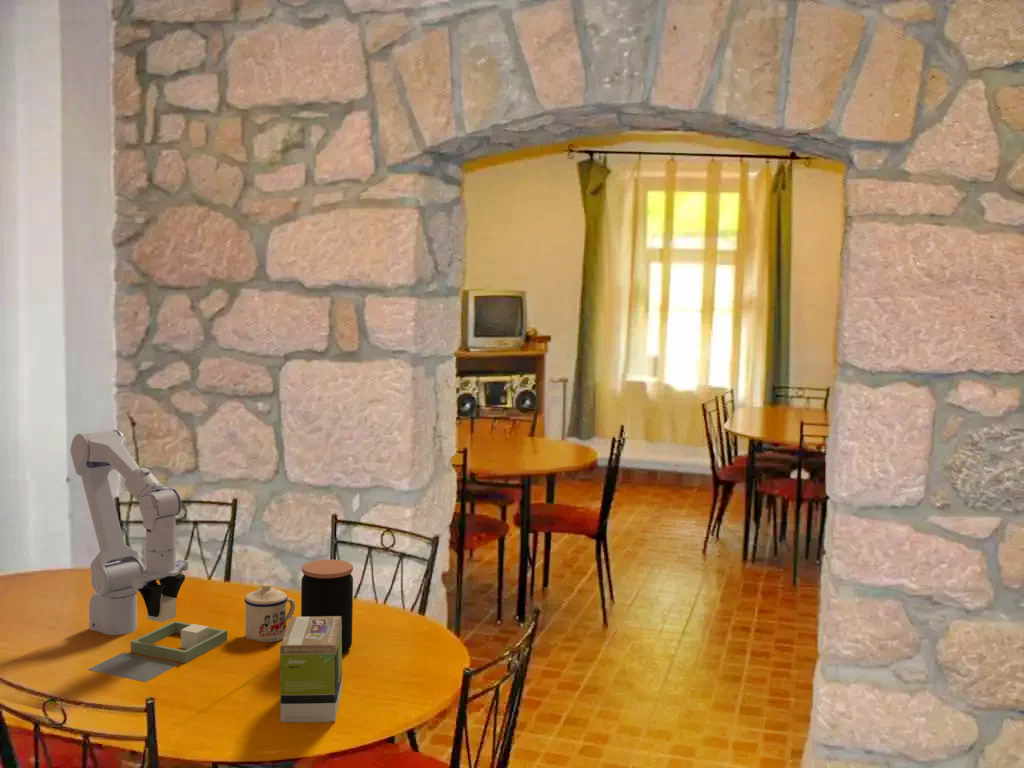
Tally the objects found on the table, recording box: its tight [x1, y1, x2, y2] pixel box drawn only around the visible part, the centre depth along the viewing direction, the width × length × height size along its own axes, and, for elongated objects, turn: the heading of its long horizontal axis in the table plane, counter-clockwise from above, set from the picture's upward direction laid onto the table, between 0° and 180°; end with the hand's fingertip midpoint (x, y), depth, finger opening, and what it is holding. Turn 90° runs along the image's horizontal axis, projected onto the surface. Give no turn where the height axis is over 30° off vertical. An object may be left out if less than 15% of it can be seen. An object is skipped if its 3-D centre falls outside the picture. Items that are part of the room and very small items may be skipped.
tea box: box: [279, 615, 343, 723], centre depth 189 cm, size 15×10×15 cm
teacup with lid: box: [244, 583, 296, 644], centre depth 223 cm, size 12×9×12 cm
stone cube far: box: [180, 623, 210, 650], centre depth 214 cm, size 4×4×4 cm
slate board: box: [87, 651, 181, 683], centre depth 203 cm, size 14×10×1 cm
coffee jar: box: [300, 558, 354, 655], centre depth 216 cm, size 11×11×18 cm
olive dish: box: [130, 620, 228, 664], centre depth 214 cm, size 14×14×3 cm
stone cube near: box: [146, 595, 177, 623], centre depth 211 cm, size 4×4×4 cm
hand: (161, 612), depth 212 cm, fingers closed on stone cube near, 4 cm apart
